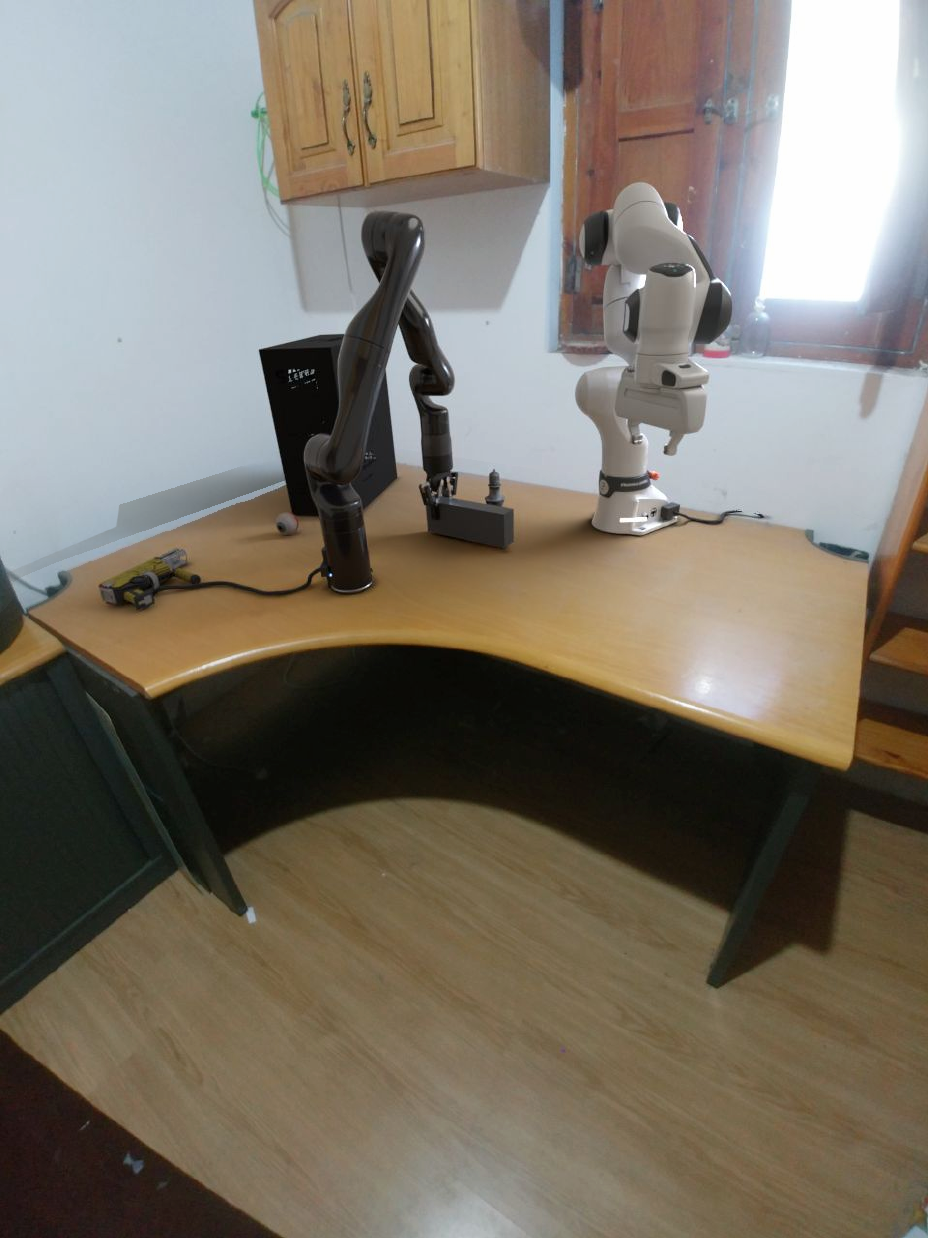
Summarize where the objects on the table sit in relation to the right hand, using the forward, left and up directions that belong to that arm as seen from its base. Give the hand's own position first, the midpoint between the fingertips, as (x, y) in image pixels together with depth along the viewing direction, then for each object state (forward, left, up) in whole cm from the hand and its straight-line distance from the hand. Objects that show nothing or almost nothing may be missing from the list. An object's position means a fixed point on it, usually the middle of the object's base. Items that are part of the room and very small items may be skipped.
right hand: (652, 449), depth 113 cm
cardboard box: (+37, -97, -29) cm, 108 cm away
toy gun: (+92, -55, -29) cm, 111 cm away
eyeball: (+60, -73, -29) cm, 99 cm away
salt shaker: (+4, -59, -29) cm, 66 cm away
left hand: (+23, -50, -24) cm, 61 cm away
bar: (+19, -43, -28) cm, 55 cm away
